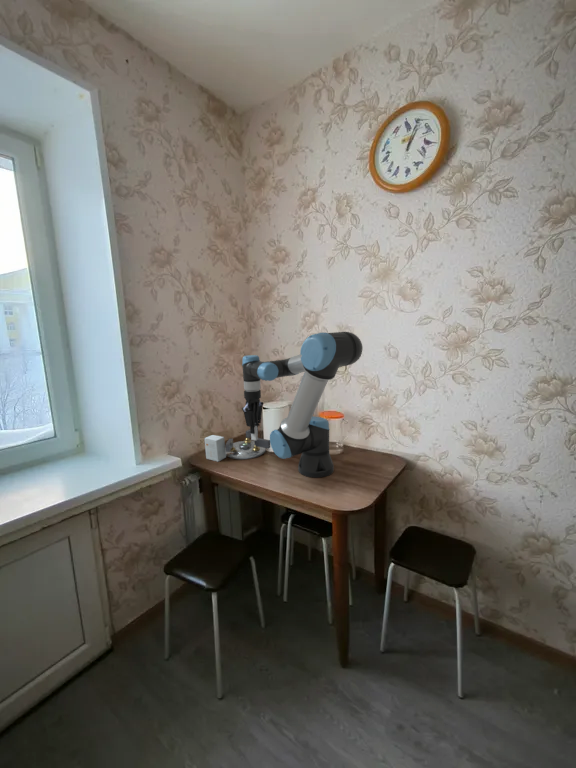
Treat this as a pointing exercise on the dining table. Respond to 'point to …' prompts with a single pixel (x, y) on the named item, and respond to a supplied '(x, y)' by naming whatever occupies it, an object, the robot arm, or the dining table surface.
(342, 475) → the dining table surface
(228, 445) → the knob left
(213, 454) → the small box
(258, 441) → the knob near
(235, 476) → the dining table surface
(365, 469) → the dining table surface
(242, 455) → the plate
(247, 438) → the knob right
